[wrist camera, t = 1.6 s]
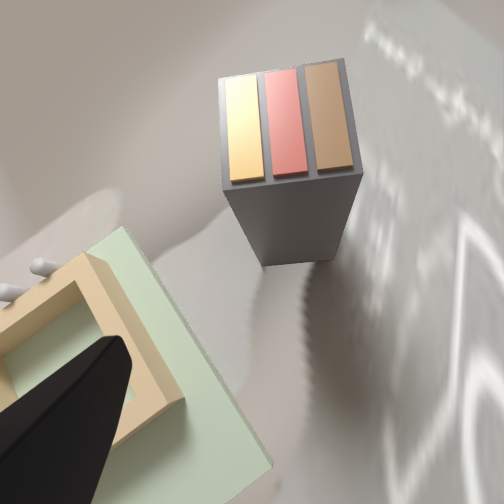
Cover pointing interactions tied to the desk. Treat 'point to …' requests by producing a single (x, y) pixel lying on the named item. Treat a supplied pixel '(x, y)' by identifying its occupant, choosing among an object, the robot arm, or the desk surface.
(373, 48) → the desk surface
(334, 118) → the plug block
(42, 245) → the desk surface
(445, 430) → the desk surface
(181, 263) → the desk surface
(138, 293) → the board
